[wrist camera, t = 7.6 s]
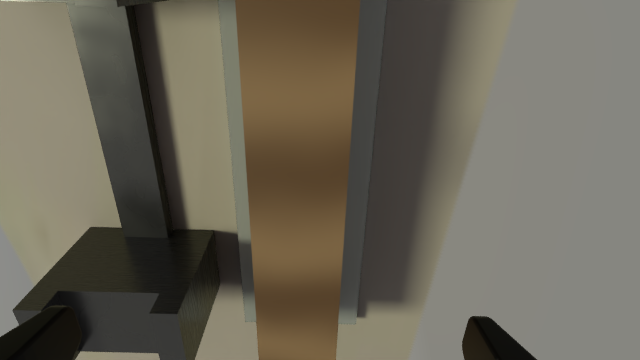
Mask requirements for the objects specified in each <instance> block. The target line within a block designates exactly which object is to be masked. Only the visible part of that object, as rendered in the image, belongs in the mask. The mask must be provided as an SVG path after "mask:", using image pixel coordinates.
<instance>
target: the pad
mask: <svg viewBox="0 0 640 360" xmlns="http://www.w3.org/2000/svg"><path fill="white" fill-rule="evenodd" d="M218 7H219V19H220V31H221V43H222V54H223V66H224V78H225V90H226V102H227V113H228V125H229V137H230V149H231V160H232V172H233V184H234V196H235V207H236V219H237V231H238V243H239V254H240V266H241V278H242V290H243V301H244V313H245V322H256V309H255V294H254V278H253V263H252V248H251V233H250V218H249V203H248V188H247V173H246V158H245V143H244V128H243V112H242V97H241V82H240V67H239V52H238V37H237V22H236V7H235V0H218ZM386 9H387V0H360V11H359V26H358V41H357V55H356V70H355V85H354V99H353V114H352V128H351V143H350V158H349V172H348V187H347V202H346V216H345V231H344V245H343V260H342V275H341V289H340V304H339V319H338V324H356V317H357V307H358V297H359V287H360V276H361V266H362V256H363V245H364V235H365V225H366V215H367V204H368V194H369V184H370V173H371V163H372V153H373V142H374V132H375V122H376V112H377V101H378V91H379V81H380V70H381V60H382V50H383V40H384V29H385V19H386Z"/></svg>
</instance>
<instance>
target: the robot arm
mask: <svg viewBox="0 0 640 360" xmlns="http://www.w3.org/2000/svg"><path fill="white" fill-rule="evenodd" d="M81 336H82V333H81V328H80V325H79V323H78V320H77V317H76V314H75V312H74V309H73V308H72V307H71V306H50V307H48V308H46V309H45V310H43V311H42V312H40V313H38V314H37V315H35V316H33V317H32V318H30V319H29V320H27V321H25V322H24V323H22V324H21V325H19V326H17V327H16V328H14V329H12V330H11V331H9V332H8V333H6V334H4V335H3V336H1V337H0V360H73V358H74V356H75V353H76V351H77V349H78V346H79V344H80V341H81ZM462 350H463V355H464V359H465V360H537V359H536V358H534V357H533V356H532V355H531V354H530V353H529V352H528V351H526V350H525V349H524V348H523V347H522V346H521V345H520V344H519V343H518V342H517V341H516V340H514V339H513V338H512V337H511V336H510V335H509V334H508V333H507V332H506V331H504V330H503V329H502V328H501V327H500V326H499V325H497V323H496V322H494V321H493V320H492V319H491V318H489V317H485V316H472V317H470V319H469V320H468V323H467V327H466V330H465V334H464V338H463V341H462Z"/></svg>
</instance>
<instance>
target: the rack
mask: <svg viewBox="0 0 640 360" xmlns="http://www.w3.org/2000/svg"><path fill="white" fill-rule="evenodd" d="M0 1H32V2H65V3H66V5H67V9H68V13H69V17H70V21H71V25H72V29H73V33H74V37H75V41H76V45H77V49H78V53H79V57H80V61H81V65H82V69H83V73H84V77H85V81H86V85H87V89H88V93H89V97H90V101H91V105H92V109H93V113H94V117H95V121H96V125H97V129H98V133H99V137H100V141H101V145H102V149H103V153H104V157H105V161H106V165H107V169H108V173H109V177H110V181H111V185H112V189H113V193H114V197H115V201H116V205H117V210H118V214H119V218H120V222H121V226H122V228H92V227H90V228H89V229H88V230H87V231H86V232H85V233H84V234H83V236H82V237H81V238H80V239H79V240H78V241H77V242H76V243H75V244H74V245H73V246H72V247H71V248H70V249H69V250H68V251H67V253H66V254H65V255H64V256H63V257H62V258H61V259H60V260H59V261H58V262H57V263H56V264H55V265H54V266H53V267H52V269H51V270H50V271H49V272H48V273H47V274H46V275H45V276H44V277H43V278H42V279H41V280H40V281H39V282H38V283H37V284H36V286H35V287H34V288H33V289H32V290H31V291H30V292H29V293H28V294H27V295H26V296H25V297H24V299H22V300H21V302H20V303H19V304H18V305H17V306H16V307H15V308H14V309H13V313H14V315H15V317H16V319H17V321H18V323H19V325H21V324H22V323H24V322H25V321H27V320H29V319H30V318H32V317H33V316H35V315H37V314H38V313H40V312H42V311H43V310H45V309H46V308H48V307H50V306H71V307H72V308H73V309H74V312H75V314H76V317H77V320H78V323H79V325H80V328H81V333H82V336H81V341H80V344H79V346H78V349H77V351H76V353H75V356H74V358H73V360H75V359H76V357H77V356H78V354H79V353H80V351H92V352H134V353H159V357H160V360H195V357H196V354H197V351H198V348H199V345H200V342H201V339H202V336H203V333H204V330H205V327H206V324H207V321H208V318H209V315H210V312H211V310H212V307H213V304H214V301H215V298H216V295H217V292H218V289H219V286H220V281H219V272H218V264H217V255H216V247H215V239H214V231H207V230H173V227H172V221H171V215H170V210H169V204H168V198H167V193H166V187H165V181H164V176H163V170H162V164H161V159H160V153H159V147H158V142H157V136H156V130H155V125H154V119H153V113H152V108H151V102H150V97H149V91H148V85H147V80H146V74H145V68H144V63H143V57H142V51H141V46H140V40H139V34H138V29H137V23H136V17H135V12H134V6H133V5H137V4H144V3H152V2H159V1H167V0H0Z"/></svg>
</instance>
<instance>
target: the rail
mask: <svg viewBox="0 0 640 360" xmlns="http://www.w3.org/2000/svg"><path fill="white" fill-rule="evenodd" d="M235 7H236V22H237V37H238V52H239V67H240V82H241V97H242V112H243V128H244V143H245V158H246V173H247V188H248V203H249V218H250V233H251V248H252V263H253V278H254V294H255V309H256V324H257V339H258V354H259V360H336V348H337V333H338V319H339V304H340V289H341V275H342V260H343V245H344V231H345V216H346V202H347V187H348V172H349V158H350V143H351V128H352V114H353V99H354V85H355V70H356V55H357V41H358V26H359V11H360V0H235Z"/></svg>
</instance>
